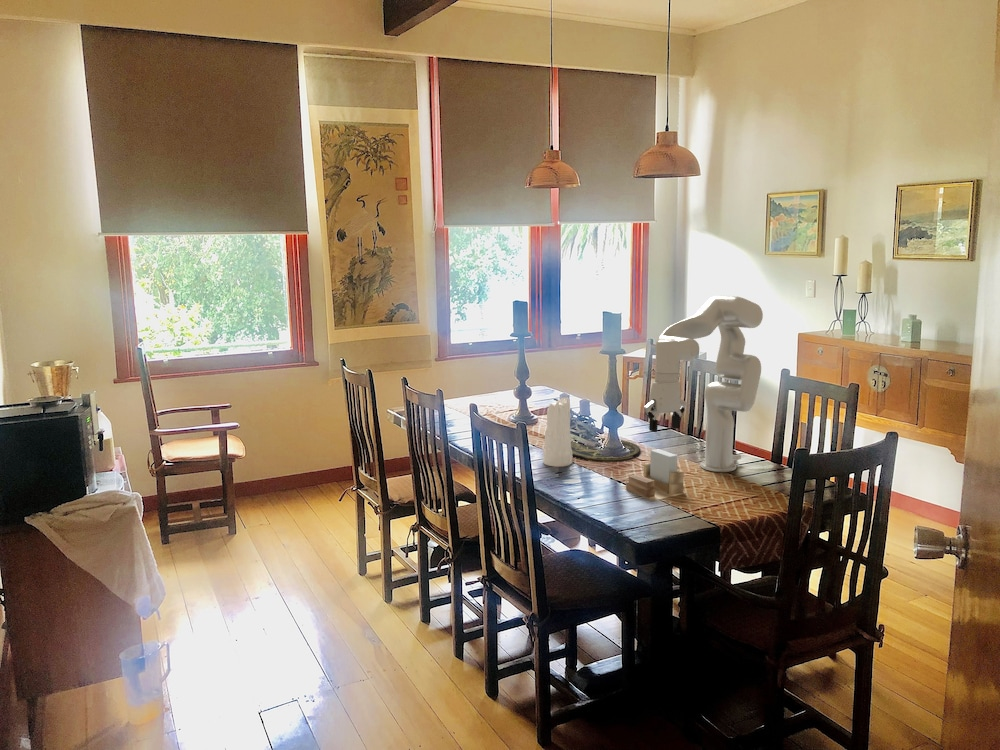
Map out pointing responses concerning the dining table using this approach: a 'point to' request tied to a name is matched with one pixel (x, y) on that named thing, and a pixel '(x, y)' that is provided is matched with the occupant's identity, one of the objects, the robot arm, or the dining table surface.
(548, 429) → the white pillar candle
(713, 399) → the robot arm
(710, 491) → the dining table surface
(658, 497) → the rack
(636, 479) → the offcut top
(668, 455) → the white rectangular block
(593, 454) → the decorative plate
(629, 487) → the block
